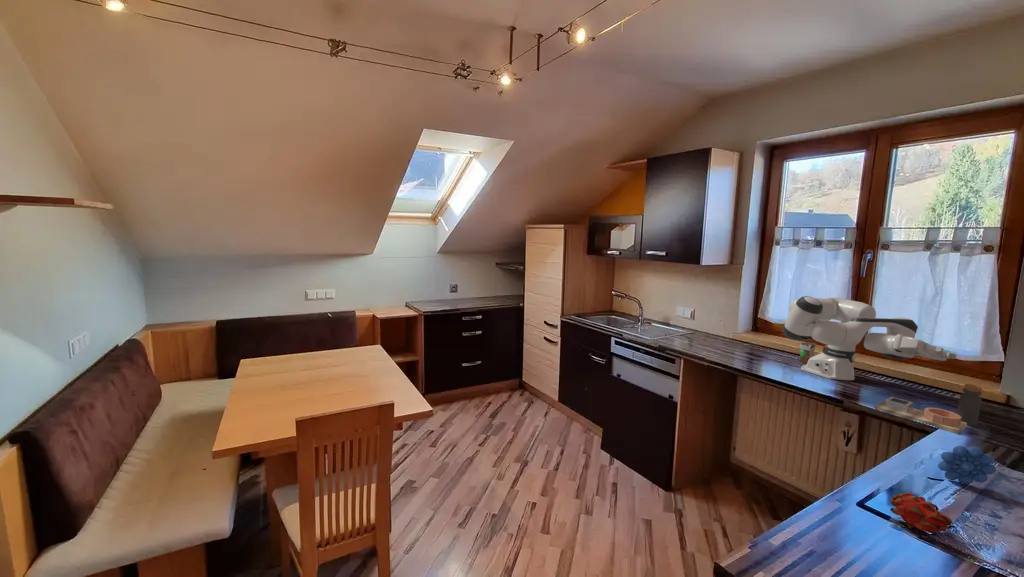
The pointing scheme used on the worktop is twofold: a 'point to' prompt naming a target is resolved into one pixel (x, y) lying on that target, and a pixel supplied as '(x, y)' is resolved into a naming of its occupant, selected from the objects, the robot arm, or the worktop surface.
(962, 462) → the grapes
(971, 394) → the bottle
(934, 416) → the round holder
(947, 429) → the wooden board
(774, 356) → the worktop surface
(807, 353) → the food container
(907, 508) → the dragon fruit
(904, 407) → the square holder
